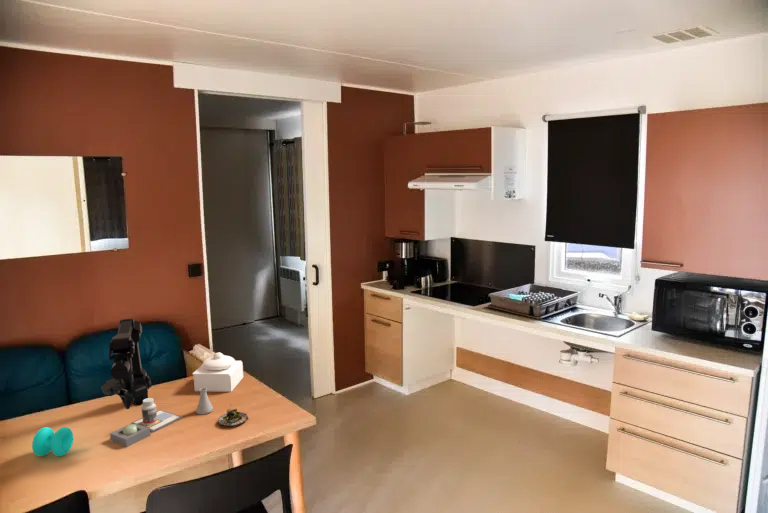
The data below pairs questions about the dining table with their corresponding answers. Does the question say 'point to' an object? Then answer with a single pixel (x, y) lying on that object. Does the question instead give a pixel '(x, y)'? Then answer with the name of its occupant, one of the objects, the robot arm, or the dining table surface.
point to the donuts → (52, 441)
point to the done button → (129, 429)
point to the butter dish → (218, 374)
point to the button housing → (131, 439)
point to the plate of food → (232, 417)
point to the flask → (204, 403)
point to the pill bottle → (149, 411)
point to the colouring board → (160, 420)
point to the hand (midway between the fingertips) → (127, 408)
